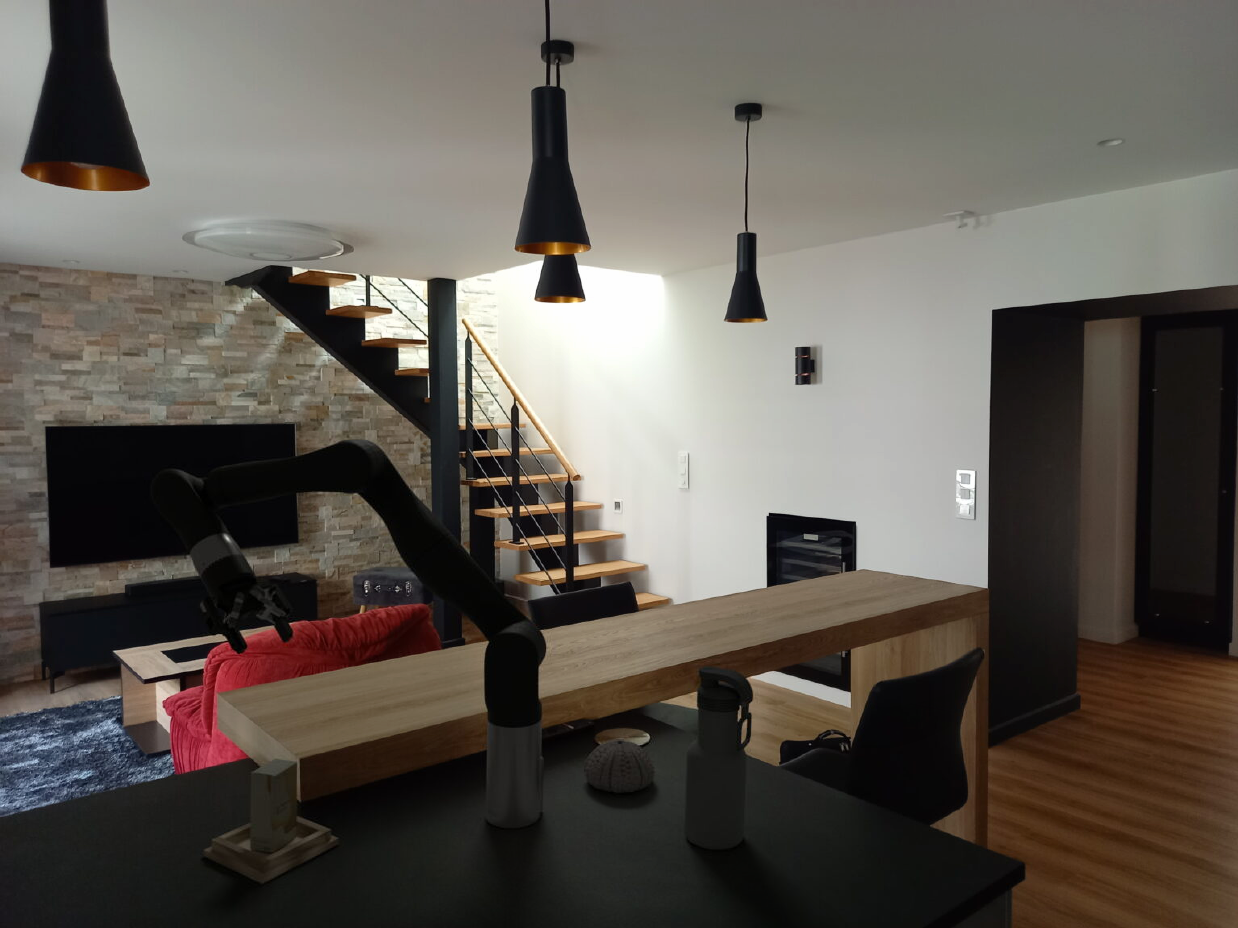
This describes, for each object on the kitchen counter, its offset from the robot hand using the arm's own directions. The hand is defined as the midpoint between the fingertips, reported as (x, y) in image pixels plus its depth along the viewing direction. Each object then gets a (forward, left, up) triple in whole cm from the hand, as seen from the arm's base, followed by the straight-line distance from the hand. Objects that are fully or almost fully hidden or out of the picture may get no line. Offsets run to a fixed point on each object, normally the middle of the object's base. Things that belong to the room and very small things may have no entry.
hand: (266, 645), depth 142 cm
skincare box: (+4, +7, -30) cm, 31 cm away
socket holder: (+4, +7, -31) cm, 32 cm away
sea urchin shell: (-48, +39, -31) cm, 69 cm away
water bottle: (-39, +63, -31) cm, 80 cm away
